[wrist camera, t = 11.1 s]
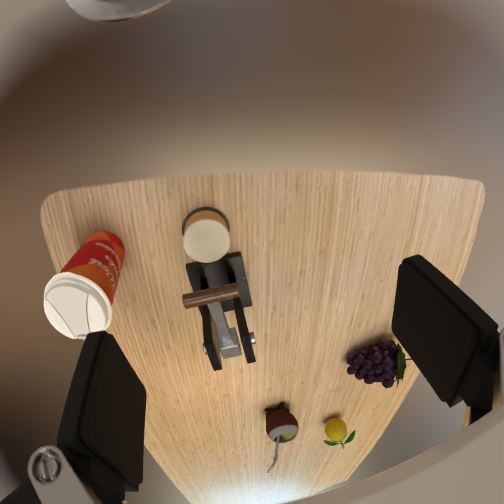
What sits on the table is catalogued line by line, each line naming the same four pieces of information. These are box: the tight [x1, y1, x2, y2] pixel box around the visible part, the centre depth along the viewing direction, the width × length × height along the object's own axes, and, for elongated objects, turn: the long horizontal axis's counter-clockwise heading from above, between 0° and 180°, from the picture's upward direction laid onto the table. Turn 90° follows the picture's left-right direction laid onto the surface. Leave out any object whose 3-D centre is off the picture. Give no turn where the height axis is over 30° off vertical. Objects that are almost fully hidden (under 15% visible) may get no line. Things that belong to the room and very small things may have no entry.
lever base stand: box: [186, 252, 256, 371], centre depth 40 cm, size 9×8×15 cm
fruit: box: [347, 339, 412, 389], centre depth 56 cm, size 10×11×15 cm
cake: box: [182, 207, 230, 263], centre depth 40 cm, size 6×6×4 cm
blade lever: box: [182, 283, 242, 359], centre depth 31 cm, size 12×5×2 cm, turn 10°
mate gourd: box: [265, 402, 299, 473], centre depth 57 cm, size 8×8×15 cm
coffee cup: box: [44, 231, 124, 339], centre depth 34 cm, size 8×8×15 cm
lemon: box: [324, 418, 355, 449], centre depth 66 cm, size 7×6×10 cm
